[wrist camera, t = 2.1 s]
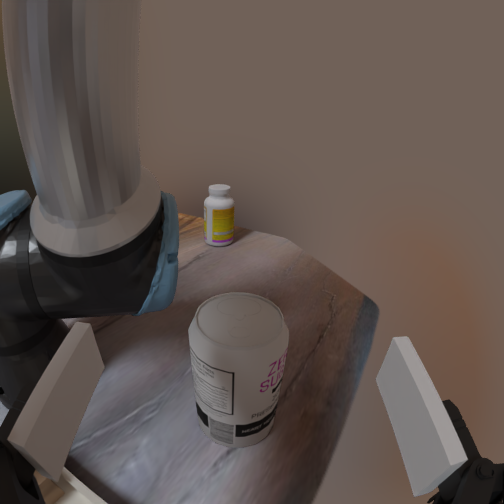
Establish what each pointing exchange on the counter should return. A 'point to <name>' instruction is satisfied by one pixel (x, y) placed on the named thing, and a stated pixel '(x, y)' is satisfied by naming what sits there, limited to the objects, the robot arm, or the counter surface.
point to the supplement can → (237, 366)
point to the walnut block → (48, 489)
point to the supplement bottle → (219, 216)
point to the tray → (75, 490)
